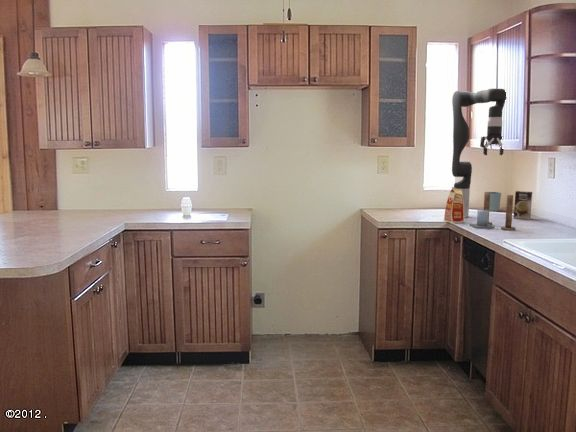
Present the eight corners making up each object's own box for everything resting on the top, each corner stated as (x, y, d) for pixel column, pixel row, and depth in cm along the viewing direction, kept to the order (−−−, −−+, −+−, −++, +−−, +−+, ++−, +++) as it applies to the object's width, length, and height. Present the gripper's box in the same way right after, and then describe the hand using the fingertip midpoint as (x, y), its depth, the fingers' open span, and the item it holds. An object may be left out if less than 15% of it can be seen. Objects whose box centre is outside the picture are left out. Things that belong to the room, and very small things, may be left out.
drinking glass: (501, 210, 370) (502, 192, 368) (498, 212, 362) (499, 193, 360) (485, 209, 375) (486, 191, 374) (482, 211, 367) (483, 192, 365)
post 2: (498, 228, 300) (500, 194, 298) (511, 228, 300) (514, 194, 298) (504, 230, 293) (506, 196, 291) (517, 230, 294) (519, 196, 291)
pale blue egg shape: (475, 224, 307) (476, 209, 306) (485, 224, 307) (486, 209, 306) (478, 226, 302) (479, 211, 300) (489, 226, 302) (489, 211, 300)
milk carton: (451, 223, 318) (453, 187, 315) (443, 220, 326) (444, 186, 323) (466, 222, 320) (467, 187, 317) (457, 220, 329) (458, 185, 326)
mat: (469, 225, 309) (469, 223, 309) (487, 225, 310) (487, 223, 310) (476, 228, 300) (476, 226, 299) (494, 228, 300) (494, 226, 300)
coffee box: (513, 218, 334) (514, 191, 332) (514, 217, 340) (516, 190, 338) (529, 219, 330) (531, 192, 328) (530, 218, 336) (532, 191, 333)
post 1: (477, 223, 316) (478, 191, 313) (489, 223, 316) (491, 191, 314) (481, 225, 309) (483, 192, 306) (494, 225, 309) (496, 192, 307)
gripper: (504, 125, 314) (503, 155, 316) (479, 125, 313) (478, 154, 316) (510, 125, 306) (508, 155, 309) (484, 125, 306) (482, 155, 308)
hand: (493, 155), depth 312 cm, fingers open, 8 cm apart
